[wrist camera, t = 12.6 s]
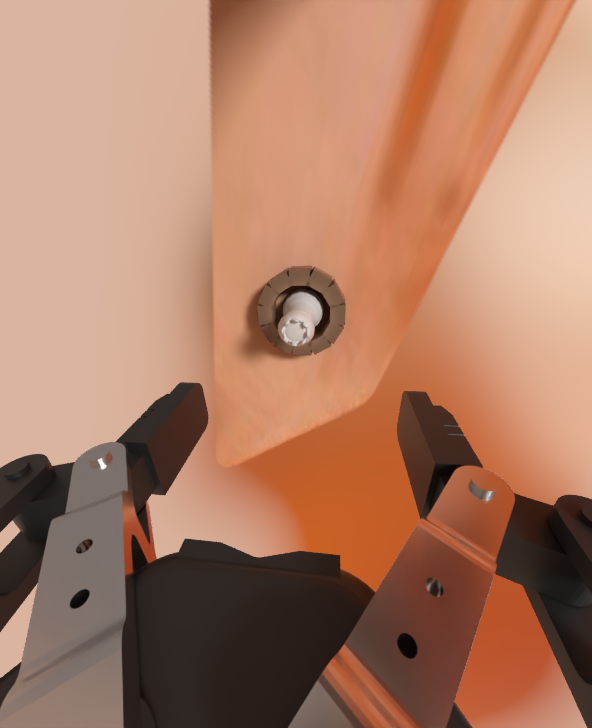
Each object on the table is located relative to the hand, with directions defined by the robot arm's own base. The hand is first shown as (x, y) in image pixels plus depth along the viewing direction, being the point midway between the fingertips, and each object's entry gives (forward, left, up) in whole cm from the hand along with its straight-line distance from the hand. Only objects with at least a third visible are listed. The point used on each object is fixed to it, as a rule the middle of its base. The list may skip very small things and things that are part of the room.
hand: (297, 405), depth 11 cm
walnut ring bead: (+2, -2, -21) cm, 21 cm away
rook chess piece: (+2, -2, -22) cm, 22 cm away
